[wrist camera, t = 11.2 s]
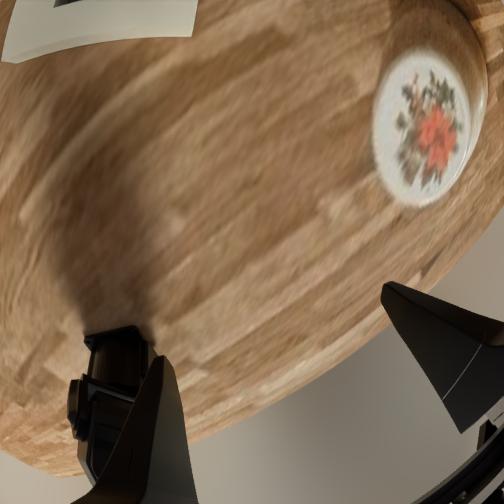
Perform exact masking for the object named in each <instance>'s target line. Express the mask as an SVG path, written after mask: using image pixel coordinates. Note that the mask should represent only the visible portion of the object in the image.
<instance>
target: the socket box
mask: <svg viewBox="0 0 504 504" xmlns="http://www.w3.org/2000/svg"><path fill="white" fill-rule="evenodd" d="M197 4H198V0H81V1H77V2H73V3H72V2H71V1H69V0H17V1H16V4H15V7H14V10H13V13H12V16H11V20H10V23H9V27H8V31H7V35H6V39H5V43H4V48H3V53H2V59H1V61H4V62H10V63H16V64H18V63H21V62H23V61H26V60H29V59H32V58H35V57H39V56H42V55H45V54H49V53H53V52H56V51H60V50H64V49H69V48H73V47H78V46H83V45H88V44H94V43H100V42H106V41H114V40H122V39H133V38H147V37H191V36H192V31H193V27H194V21H195V15H196V9H197Z"/></svg>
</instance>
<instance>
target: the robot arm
mask: <svg viewBox="0 0 504 504" xmlns="http://www.w3.org/2000/svg"><path fill="white" fill-rule="evenodd" d="M380 299H381V303H382V305H383V307H384V309H385V311H386V312H387V314H388V316H389V318H390V319H391V321H392V323H393V325H394V327H395V328H396V330H397V332H398V333H399V335H400V336H401V338H402V339H403V341H404V342H405V343H406V344H407V346H408V348H409V349H410V351H411V352H412V354H413V355H414V357H415V359H416V360H417V362H418V363H419V365H420V366H421V368H422V369H423V371H424V372H425V374H426V376H427V377H428V379H429V380H430V382H431V384H432V385H433V387H434V388H435V390H436V392H437V393H438V395H439V397H440V398H441V400H442V402H443V404H444V406H445V407H446V409H447V411H448V412H449V414H450V416H451V418H452V419H453V421H454V423H455V425H456V427H457V428H458V430H459V432H460V433H461V434H463V433H464V432H465V431H466V430H467V429H469V428H470V427H471V426H472V425H474V424H475V423H476V422H477V421H478V420H479V419H480V418H482V417H483V416H484V415H485V414H486V416H487V417H488V419H487V420H486V421H485V422H484V423H483V424H482V425H481V426H480V430H479V437H478V444H477V452H476V453H475V454H473V456H471V457H470V458H469V459H468V460H467V461H466V462H465V463H464V464H463V465H461V466H460V467H459V468H458V469H457V470H456V471H454V472H453V473H452V474H451V475H450V476H448V477H447V478H446V479H445V480H443V481H442V482H441V483H440V484H438V485H437V486H436V487H434V488H433V489H432V490H430V491H429V492H427V493H426V494H425V495H423V496H422V497H420V498H419V499H417V500H416V501H414V502H413V503H411V504H449V503H450V502H452V504H504V492H503V491H502V488H504V322H501V321H498V320H495V319H491V318H488V317H485V316H482V315H479V314H476V313H473V312H471V311H468V310H466V309H463V308H460V307H458V306H456V305H453V304H450V303H448V302H446V301H443V300H441V299H438V298H435V297H433V296H430V295H428V294H425V293H423V292H420V291H417V290H415V289H412V288H410V287H407V286H404V285H402V284H399V283H396V282H394V281H389V282H387V283H385V284H384V285H383V287H382V292H381V298H380ZM132 330H134V331H132ZM84 343H85V345H86V346H87V347H88V348H89V350H90V351H91V355H90V360H89V366H88V372H87V375H86V374H84V373H83V374H82V376H81V378H80V379H77V380H71V382H70V386H69V392H68V400H67V418H68V420H69V421H70V423H71V427H72V434H73V438H74V439H77V440H78V450H77V457H78V460H79V462H80V464H81V466H82V468H83V470H84V472H85V473H86V475H87V477H88V479H89V481H90V483H91V484H92V486H93V488H92V489H91V490H90V491H89V492H88V493H87V494H86V495H84V496H83V497H81V498H79V499H78V500H76V501H74V502H72V503H71V504H199V503H198V500H197V495H196V489H195V485H194V479H193V474H192V468H191V463H190V457H189V450H188V444H187V437H186V430H185V422H184V414H183V407H182V403H181V398H180V394H179V390H178V385H177V381H176V376H175V371H174V369H173V367H172V365H171V364H170V362H169V360H168V359H167V357H166V356H165V355H161V356H157V355H156V353H155V352H154V350H153V348H152V347H151V345H150V344H149V342H147V341H146V340H145V339H144V337H143V336H142V334H141V332H140V331H139V329H138V328H137V327H136V326H129V327H125V328H120V329H116V330H112V331H108V332H103V333H99V334H94V335H90V336H86V337H85V338H84Z"/></svg>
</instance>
